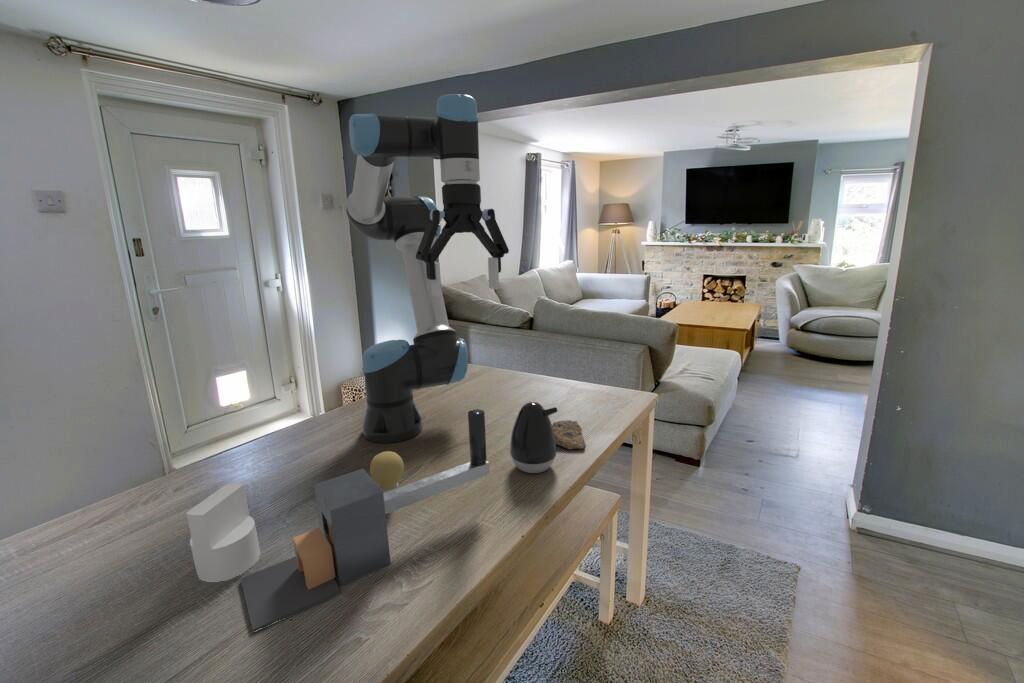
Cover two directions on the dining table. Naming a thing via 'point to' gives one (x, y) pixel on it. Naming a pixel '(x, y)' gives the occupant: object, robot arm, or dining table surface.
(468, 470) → the shaft
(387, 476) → the light bulb
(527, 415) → the pump dispenser
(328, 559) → the tan wooden block
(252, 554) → the cylinder with rectangular tab
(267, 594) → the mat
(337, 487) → the bearing block
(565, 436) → the rock
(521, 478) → the dining table surface
